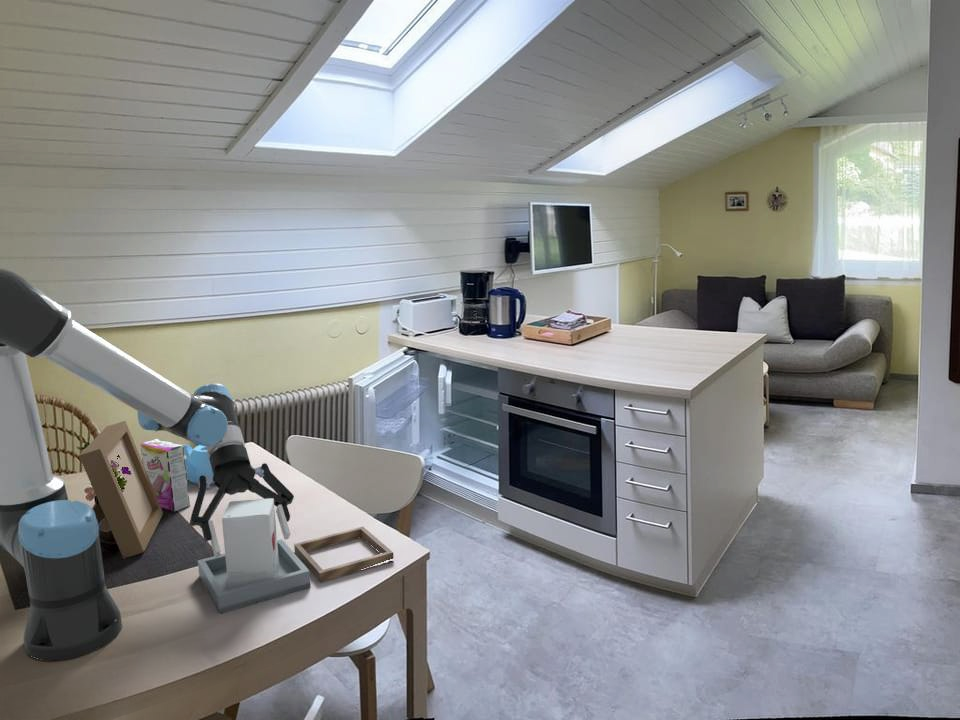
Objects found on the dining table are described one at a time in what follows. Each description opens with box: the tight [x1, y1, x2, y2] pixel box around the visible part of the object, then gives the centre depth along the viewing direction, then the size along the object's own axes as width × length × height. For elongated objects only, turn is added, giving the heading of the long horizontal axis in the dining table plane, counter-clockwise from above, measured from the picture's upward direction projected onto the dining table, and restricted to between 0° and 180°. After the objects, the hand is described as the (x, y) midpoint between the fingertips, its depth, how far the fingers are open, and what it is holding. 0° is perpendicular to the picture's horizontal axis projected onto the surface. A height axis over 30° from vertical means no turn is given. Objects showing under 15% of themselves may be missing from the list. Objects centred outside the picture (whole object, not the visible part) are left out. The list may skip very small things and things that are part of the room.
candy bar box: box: [139, 438, 191, 513], centre depth 190 cm, size 11×5×16 cm, turn 58°
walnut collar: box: [293, 526, 395, 583], centre depth 161 cm, size 16×16×2 cm
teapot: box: [182, 444, 214, 485], centre depth 210 cm, size 15×15×11 cm
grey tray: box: [197, 539, 311, 614], centre depth 151 cm, size 17×17×4 cm
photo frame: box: [78, 420, 164, 559], centre depth 170 cm, size 15×22×25 cm
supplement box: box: [221, 498, 279, 590], centre depth 149 cm, size 9×9×15 cm
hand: (253, 545), depth 148 cm, fingers open, 13 cm apart
